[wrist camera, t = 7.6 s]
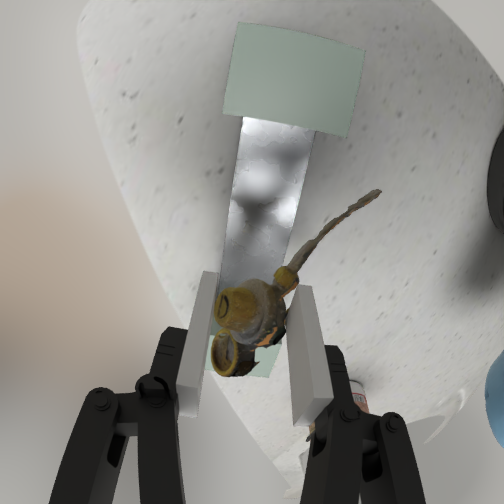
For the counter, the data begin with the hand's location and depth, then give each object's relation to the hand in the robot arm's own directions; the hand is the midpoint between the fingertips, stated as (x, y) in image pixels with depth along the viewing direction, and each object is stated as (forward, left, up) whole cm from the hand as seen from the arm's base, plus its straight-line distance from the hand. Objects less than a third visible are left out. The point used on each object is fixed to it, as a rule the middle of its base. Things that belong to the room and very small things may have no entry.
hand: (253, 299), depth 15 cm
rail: (0, 0, -11) cm, 11 cm away
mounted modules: (0, 0, -8) cm, 8 cm away
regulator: (-2, 0, -3) cm, 3 cm away
